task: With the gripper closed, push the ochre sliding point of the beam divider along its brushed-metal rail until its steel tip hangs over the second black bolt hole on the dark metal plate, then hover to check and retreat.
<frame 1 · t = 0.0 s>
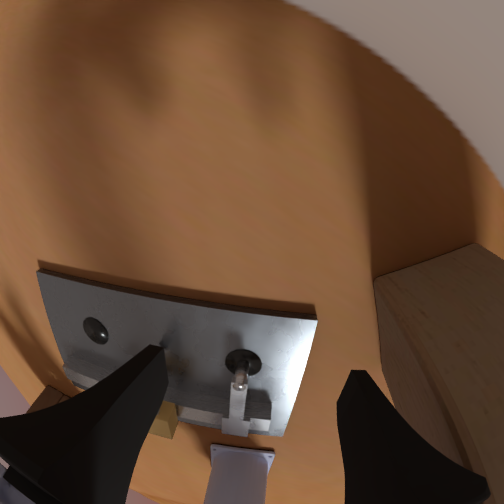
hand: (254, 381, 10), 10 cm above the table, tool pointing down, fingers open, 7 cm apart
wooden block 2: (76, 404, 30), on the table
wooden block: (429, 309, 19), on the table
hole plate: (158, 364, 24), on the table
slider: (157, 395, 21), point 3 cm above the table, slide at 0.0 cm
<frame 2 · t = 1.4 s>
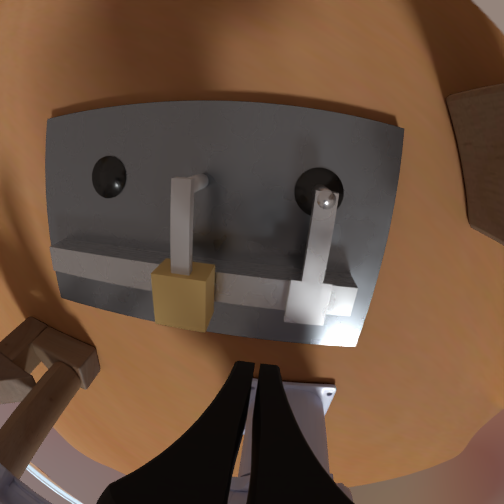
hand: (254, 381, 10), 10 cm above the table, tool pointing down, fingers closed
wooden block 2: (63, 341, 25), on the table
wooden block: (497, 154, 14), on the table
hole plate: (190, 222, 18), on the table
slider: (189, 248, 15), point 3 cm above the table, slide at 0.0 cm
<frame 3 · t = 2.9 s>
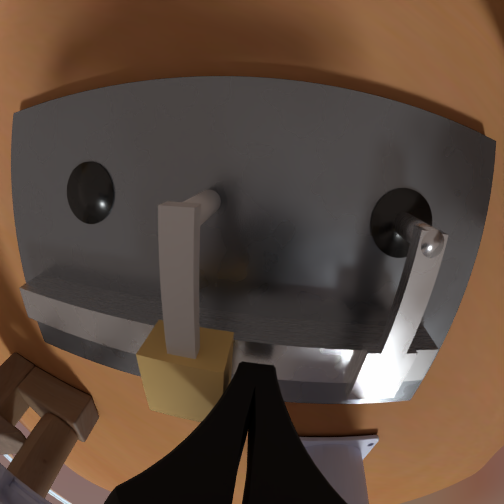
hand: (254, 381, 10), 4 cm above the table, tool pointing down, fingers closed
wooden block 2: (54, 382, 19), on the table
hole plate: (211, 261, 13), on the table
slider: (193, 310, 10), point 3 cm above the table, slide at 0.9 cm, touching gripper
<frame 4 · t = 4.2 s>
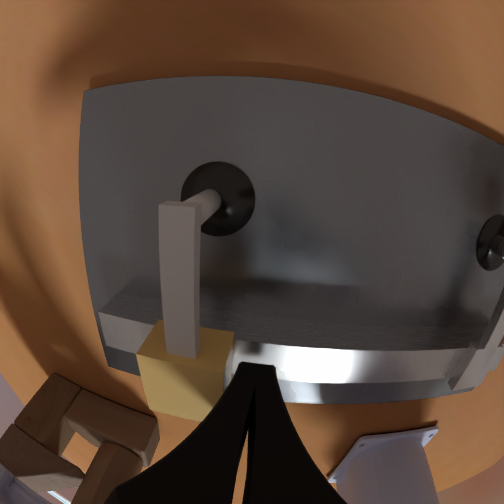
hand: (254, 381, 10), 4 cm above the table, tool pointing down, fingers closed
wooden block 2: (104, 404, 19), on the table
hole plate: (348, 277, 12), on the table
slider: (193, 310, 10), point 3 cm above the table, slide at 7.2 cm, touching gripper
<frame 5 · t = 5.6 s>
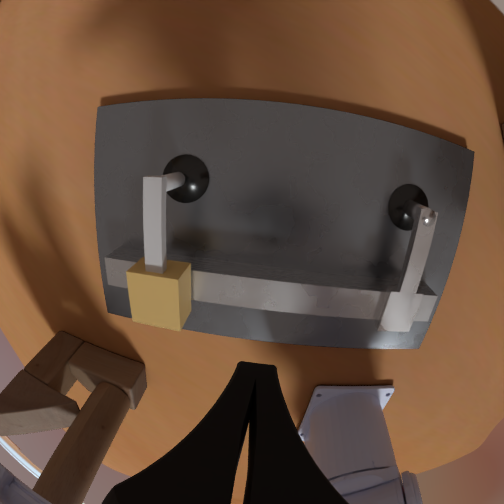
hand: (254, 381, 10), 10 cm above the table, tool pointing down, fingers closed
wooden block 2: (102, 357, 24), on the table
hole plate: (279, 232, 18), on the table
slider: (164, 246, 15), point 3 cm above the table, slide at 7.3 cm
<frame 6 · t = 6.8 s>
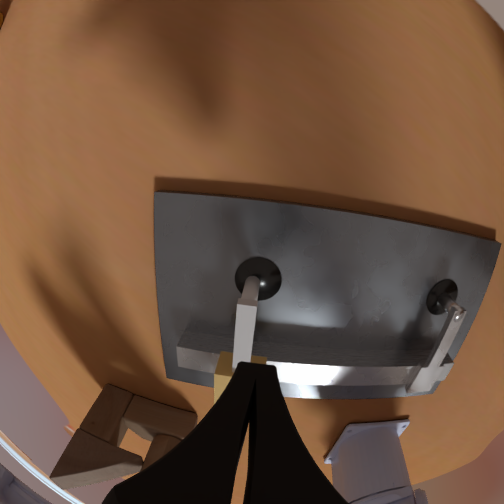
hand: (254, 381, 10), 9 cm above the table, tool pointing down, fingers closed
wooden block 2: (151, 406, 26), on the table
hole plate: (336, 320, 19), on the table
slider: (244, 346, 17), point 3 cm above the table, slide at 7.3 cm
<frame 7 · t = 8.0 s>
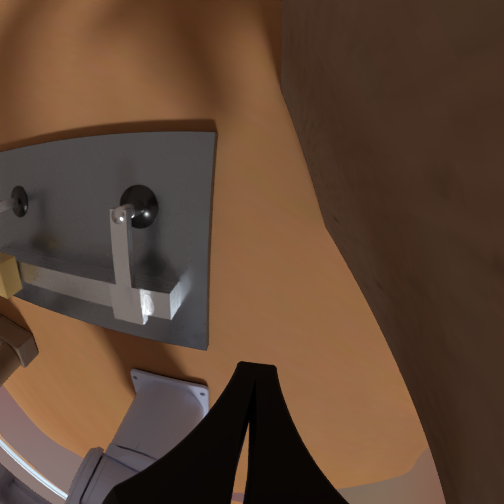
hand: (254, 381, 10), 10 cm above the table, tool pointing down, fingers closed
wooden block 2: (14, 328, 26), on the table
wooden block: (376, 138, 15), on the table
hole plate: (66, 235, 20), on the table
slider: (4, 246, 17), point 3 cm above the table, slide at 7.3 cm
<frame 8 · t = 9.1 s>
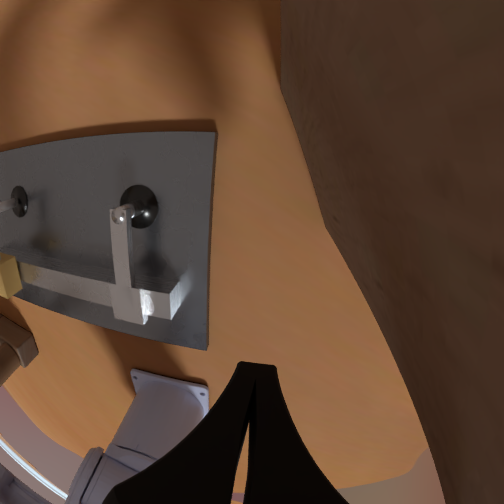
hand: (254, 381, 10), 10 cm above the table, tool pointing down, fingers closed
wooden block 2: (14, 328, 26), on the table
wooden block: (376, 138, 15), on the table
hole plate: (66, 235, 20), on the table
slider: (4, 246, 17), point 3 cm above the table, slide at 7.3 cm
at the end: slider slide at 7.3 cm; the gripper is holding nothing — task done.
